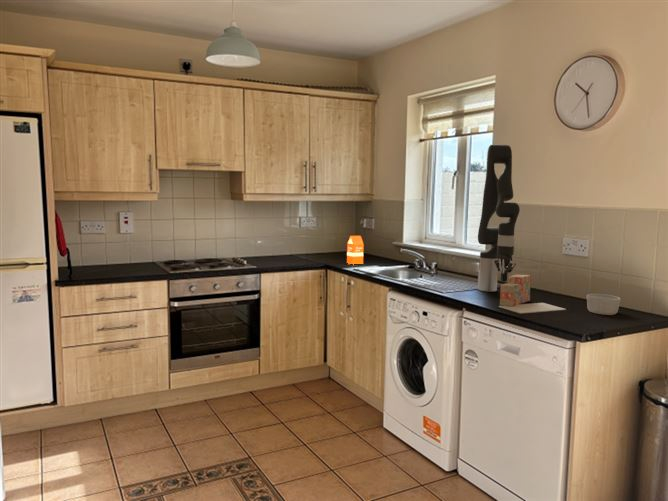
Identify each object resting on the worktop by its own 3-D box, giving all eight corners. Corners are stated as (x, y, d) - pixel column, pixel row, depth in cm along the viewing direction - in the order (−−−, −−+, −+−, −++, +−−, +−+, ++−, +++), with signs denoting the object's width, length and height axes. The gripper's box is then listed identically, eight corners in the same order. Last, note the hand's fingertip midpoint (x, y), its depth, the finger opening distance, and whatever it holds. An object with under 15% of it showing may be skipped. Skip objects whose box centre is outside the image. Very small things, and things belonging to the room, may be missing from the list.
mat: (498, 306, 236) (498, 305, 236) (542, 303, 245) (542, 302, 245) (520, 313, 223) (520, 312, 223) (565, 309, 232) (566, 309, 232)
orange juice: (363, 264, 370) (363, 236, 368) (352, 265, 366) (353, 236, 364) (357, 263, 377) (357, 235, 375) (346, 263, 373) (347, 235, 370)
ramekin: (623, 312, 230) (624, 296, 229) (614, 317, 220) (616, 300, 220) (590, 307, 239) (591, 292, 238) (581, 312, 229) (582, 296, 228)
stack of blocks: (513, 306, 234) (514, 279, 233) (499, 305, 238) (500, 277, 237) (530, 300, 251) (530, 274, 250) (516, 299, 255) (517, 273, 254)
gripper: (490, 243, 255) (488, 279, 256) (508, 246, 242) (506, 283, 244) (503, 243, 257) (501, 278, 259) (521, 246, 245) (519, 283, 247)
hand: (503, 281), depth 252 cm, fingers closed
